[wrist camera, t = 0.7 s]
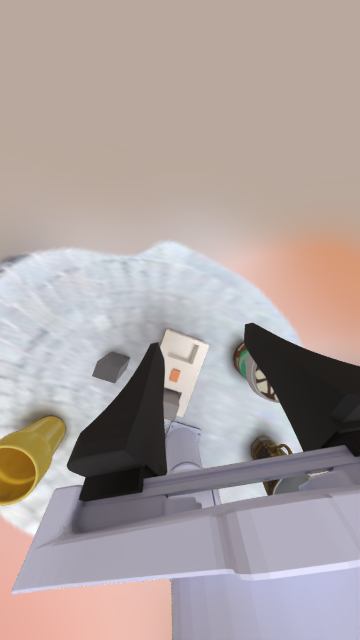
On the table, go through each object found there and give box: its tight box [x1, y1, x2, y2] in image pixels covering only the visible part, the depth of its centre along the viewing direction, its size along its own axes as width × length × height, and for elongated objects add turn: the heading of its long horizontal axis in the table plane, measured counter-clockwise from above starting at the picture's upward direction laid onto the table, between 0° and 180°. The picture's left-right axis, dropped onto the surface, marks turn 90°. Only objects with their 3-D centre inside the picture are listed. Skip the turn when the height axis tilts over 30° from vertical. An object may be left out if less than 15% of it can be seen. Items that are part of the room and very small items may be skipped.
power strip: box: [160, 329, 209, 418], centre depth 33 cm, size 17×10×5 cm, turn 159°
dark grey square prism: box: [92, 352, 130, 383], centre depth 31 cm, size 3×4×7 cm
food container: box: [234, 342, 280, 403], centre depth 32 cm, size 12×6×10 cm, turn 26°
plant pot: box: [0, 416, 66, 506], centre depth 28 cm, size 10×10×10 cm
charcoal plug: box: [163, 387, 179, 421], centre depth 31 cm, size 3×4×7 cm
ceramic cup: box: [252, 437, 312, 496], centre depth 33 cm, size 13×10×10 cm
